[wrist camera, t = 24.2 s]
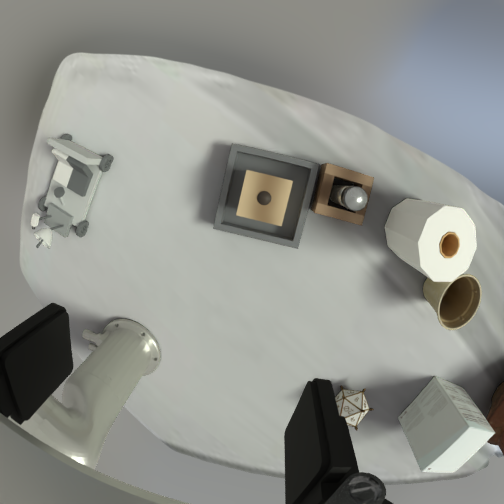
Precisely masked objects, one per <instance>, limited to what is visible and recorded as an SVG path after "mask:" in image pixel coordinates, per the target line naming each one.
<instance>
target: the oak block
mask: <svg viewBox="0 0 504 504" xmlns="http://www.w3.org/2000/svg"><path fill="white" fill-rule="evenodd" d="M292 183H293V181H291V180H287V179H283V178H279V177H275V176H271V175H267V174H263V173H258V172H254V171H250V170H247V171H246V175H245V179H244V183H243V187H242V192H241V196H240V200H239V205H238V209H237V213H236V215H237V216H241V217H245V218H249V219H254V220H258V221H262V222H266V223H270V224H274V225H278V226H282V223H283V219H284V215H285V211H286V207H287V203H288V199H289V195H290V191H291V187H292Z"/></svg>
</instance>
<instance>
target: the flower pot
mask: <svg viewBox="0 0 504 504" xmlns="http://www.w3.org/2000/svg"><path fill="white" fill-rule="evenodd" d="M423 294H424V297H425V298H426V300H427V301H428V302H429V303H430V305H431V306H432V307H433V309H434V310H435V311H436V313H437V316H438V320H439V322H440V324H441V325H442V326H443V327H444V328H446V329H448V330H456V329H459V328H461V327H463V326H464V325H466V324H467V323H468V322H469V321H470V320H471V319H472V318H473V316H474V315H475V313H476V312H477V310H478V307H479V305H480V302H481V295H482V292H481V285H480V283H479V281H478V279H477V278H476V277H474V276H473V275H470V274H462V275H460V276H459V277H457V278H456V279H455V280H454V281H452V282H434V281H432V280H431V279H429V278H427V279H426V281H425V282H424V285H423Z"/></svg>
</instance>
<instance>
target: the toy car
mask: <svg viewBox="0 0 504 504" xmlns="http://www.w3.org/2000/svg"><path fill="white" fill-rule="evenodd" d="M71 140H72V136H71V135H69V134H64V135H63V136H62V137H61V138H60V139H56V138H48V141H47V144H49V145H51V146H52V147H54V149H53V150H52V153H53V154H54V155H55V157H56V158H57V159H58V162H57V165H56V168H55V171H54V174H53V177H52V180H51V183H50V187H49V190H48V193H47V196H44V197H42V198H41V200H40V202H39V205H38V207H39V209H40V210H41V211H46V210H47V213H46V216H45V217H41V218H40V215H39V214H37V213H35V214H33V216H32V220H31V225H32V229H35V227H36V226H38V222H39V220H42V219H45V221H44V223H45V224H46V225H48V226H49V227H50V228H43V229H41V230H38V231H36V232H35V233H34V235H35V237H36V238H37V239H38V240H39V241H40V242H39V243H38V245H37V246H36V247H37V248H38V247H39V246H40V244H41V243H42V244H43V245H44V246H45V247H47V248H49V249H50V247H51V242H52V230H55V231H56V232H58V233H59V234H60V235H62V236H63V237H68V235H69V231H70V228H71V224H73V225H74V226H76V227H77V229H76V235H77V236H79V237H83V236H84V235H85V234H86V232H87V228H88V225H89V223H88V222H87V221H85V218H86V215H87V212H88V209H89V206H90V203H91V201H92V198H93V195H94V192H95V190H96V187H97V184H98V182H99V179H100V177H101V174H102V172H106V171H108V170H109V169H110V166H111V163H112V161H113V156H112V155H110V154H107V155H105V156H104V157H101V156H99V155H97V154H95V153H94V152H92V151H90V150H88V149H86V148H84V147H82V146H80V145H78V144H76V143H74V142H72V141H71Z"/></svg>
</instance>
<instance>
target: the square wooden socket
mask: <svg viewBox="0 0 504 504" xmlns="http://www.w3.org/2000/svg"><path fill="white" fill-rule="evenodd" d="M334 178H336V179H340V180H343V181H347V182H350V183H353V184H354V186H358V187H361V188H363V189H364V190H365V191H366V193H367V196H368V201H369V197H370V193H371V189H372V184H373V180H374V177H371V176H368V175H364V174H361V173H358V172H355V171H352V170H349V169H345V168H342V167H339V166H335V165H332V164H329V163H326V164H322V165H321V169H320V173H319V177H318V182H317V186H316V190H315V194H314V198H313V202H312V206H311V210H312V211H313V212H315V213H318V214H321V215H325V216H329V217H333V218H336V219H340V220H343V221H347V222H351V223H354V224H358V225H361V226H362V223H363V220H364V216H365V212H366V208H367V205H366V206H365V208H363V209H362V210H360V211H352V210H350V209H348V210H345V209H342V208H338V207H335V206H331V205H327V204H328V200H329V196H330V193H331V188H332V184H333V180H334ZM367 204H368V202H367Z"/></svg>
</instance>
